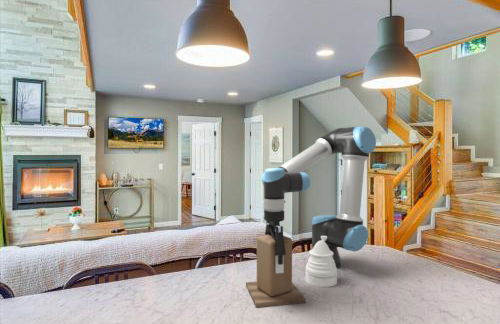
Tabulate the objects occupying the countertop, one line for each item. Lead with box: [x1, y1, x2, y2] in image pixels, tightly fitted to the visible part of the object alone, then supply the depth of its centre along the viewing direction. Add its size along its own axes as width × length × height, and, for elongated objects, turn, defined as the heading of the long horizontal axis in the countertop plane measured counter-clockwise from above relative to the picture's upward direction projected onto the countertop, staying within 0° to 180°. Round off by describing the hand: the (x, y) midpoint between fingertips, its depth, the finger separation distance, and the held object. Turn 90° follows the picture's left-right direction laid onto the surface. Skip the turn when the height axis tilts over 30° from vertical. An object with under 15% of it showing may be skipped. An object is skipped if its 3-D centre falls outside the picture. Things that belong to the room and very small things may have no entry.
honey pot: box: [304, 236, 338, 288], centre depth 133 cm, size 13×13×18 cm
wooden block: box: [256, 234, 293, 296], centre depth 120 cm, size 10×10×20 cm
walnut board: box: [245, 281, 307, 308], centre depth 121 cm, size 18×18×2 cm
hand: (274, 266), depth 121 cm, fingers open, 13 cm apart
